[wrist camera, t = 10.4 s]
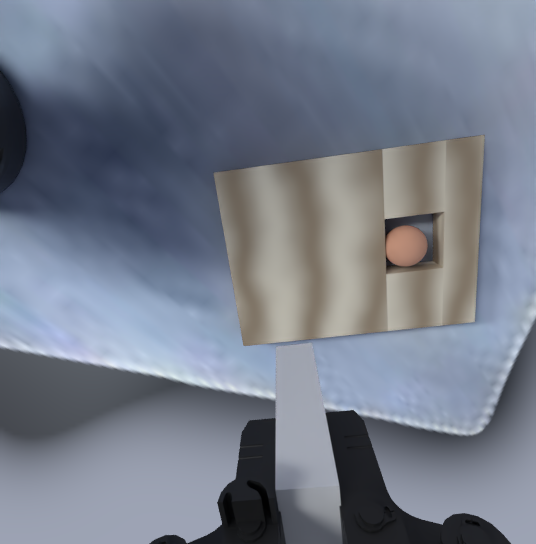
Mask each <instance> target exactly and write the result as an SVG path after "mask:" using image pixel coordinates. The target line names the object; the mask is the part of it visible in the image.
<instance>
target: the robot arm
mask: <svg viewBox="0 0 536 544" xmlns="http://www.w3.org/2000/svg"><path fill="white" fill-rule="evenodd" d="M25 150H26V129H25V122H24V118H23V114H22V111H21V108H20V105H19V102H18V100H17V98H16V95H15V93H14V91H13V90H12V88H11V86H10V84H9V83H8V81H7V80H6V78H5V77H4V75H3V74H2V73H1V71H0V193H1V192H2V191H3V190H5V189H6V188H7V187H8V186H9V185H10V184H11V183H12V182H13V180H14V179H15V178H16V176H17V174H18V173H19V171H20V168H21V166H22V163H23V160H24V156H25ZM217 503H218V507H219V512H220V516H221V520H222V525H221V526H220V527H218V528H217V529H216V530H215V531H213V532H212V533H210V534H208V535H207V536H204V537H202V538H199V539H197V540H194V541H192V542H190V543H186V541H185V540H184V539H183V538H181V537H179V536H177V535H165V536H163V537H160V538H158V539H156V540H154V541H152V542H151V543H150V544H511V543H510V542H509V541H508V540H507V538H506V537H505V536H504V535H503V534H502V533H501V532H500V531H499V530H498V529H496V528H495V527H494V526H493V525H492V524H491V523H489V522H487V521H485V520H484V519H482V518H480V517H478V516H474V515H470V514H465V513H462V514H454V515H452V516H450V517H449V518H447V519H446V520H445V521H444V523H443V525H441V524H437V523H433V522H429V521H425V520H421V519H419V518H416V517H413V516H411V515H409V514H408V513H406V512H404V511H403V510H402V509H400V508H399V507H398V506H397V505H396V504H395V503H394V502H393V501H392V499H391V498H390V496H389V494H388V492H387V489H386V486H385V483H384V480H383V477H382V474H381V471H380V468H379V466H378V462H377V460H376V456H375V453H374V450H373V448H372V444H371V441H370V438H369V436H368V432H367V429H366V426H365V423H364V421H363V420H362V419H361V418H360V416H359V415H358V414H357V413H356V412H355V411H354V410H350V411H339V412H328V413H325V408H324V403H323V398H322V393H321V388H320V382H319V377H318V372H317V367H316V362H315V357H314V351H313V346H312V343H305V344H295V345H286V346H276V418H272V419H262V420H250V421H249V422H248V423H247V425H246V427H245V428H244V430H243V431H242V435H241V442H240V451H239V460H238V466H237V473H236V479H235V480H234V481H232V482H231V483H229V484H228V485H227V486H226V487H225V488H224V490H223V491H222V492H221V494H220V497H219V500H218V502H217Z"/></svg>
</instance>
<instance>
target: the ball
mask: <svg viewBox="0 0 536 544" xmlns="http://www.w3.org/2000/svg"><path fill="white" fill-rule="evenodd" d="M427 246H428V245H427V239H426V237H425V235H424V234H423V232H422V231H420V230H419V229H418V228H416V227H413V226H408V225H404V226H399V227H396V228H394V229H393V230H391V231H390V232H389V233H388V234H387V236H386V237H385V250H386V257H387V259H388V260H389V261H390V262H392V263H393V264H395V265H398V266H405V267H406V266H412V265H414V264H416V263H418V262H419V261H421V260H422V259H423V257H424V256H425V254H426V251H427Z"/></svg>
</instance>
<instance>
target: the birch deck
mask: <svg viewBox="0 0 536 544" xmlns="http://www.w3.org/2000/svg"><path fill="white" fill-rule="evenodd" d="M484 137H485V135H480V136H472V137H465V138H458V139H451V140H444V141H436V142H429V143H422V144H415V145H408V146H401V147H394V148H386V149H379V150H372V151H365V152H358V153H351V154H343V155H336V156H329V157H322V158H315V159H308V160H301V161H293V162H286V163H279V164H272V165H265V166H258V167H251V168H243V169H236V170H229V171H222V172H215V173H214V179H215V185H216V191H217V196H218V202H219V208H220V214H221V219H222V225H223V231H224V237H225V242H226V248H227V254H228V259H229V265H230V271H231V277H232V282H233V288H234V294H235V300H236V305H237V311H238V317H239V322H240V328H241V334H242V340H243V345H244V346H249V345H259V344H269V343H278V342H288V341H297V340H307V339H317V338H326V337H336V336H345V335H355V334H365V333H374V332H384V331H393V330H403V329H413V328H422V327H432V326H441V325H451V324H461V323H470V322H475V308H476V289H477V270H478V251H479V232H480V213H481V194H482V175H483V156H484ZM430 213H433V257H432V261H427V262H418V263H416V264H414V265H412V266H406V267H405V266H398V265H393V266H386V250H385V219H390V218H398V217H406V216H414V215H422V214H430Z"/></svg>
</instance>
